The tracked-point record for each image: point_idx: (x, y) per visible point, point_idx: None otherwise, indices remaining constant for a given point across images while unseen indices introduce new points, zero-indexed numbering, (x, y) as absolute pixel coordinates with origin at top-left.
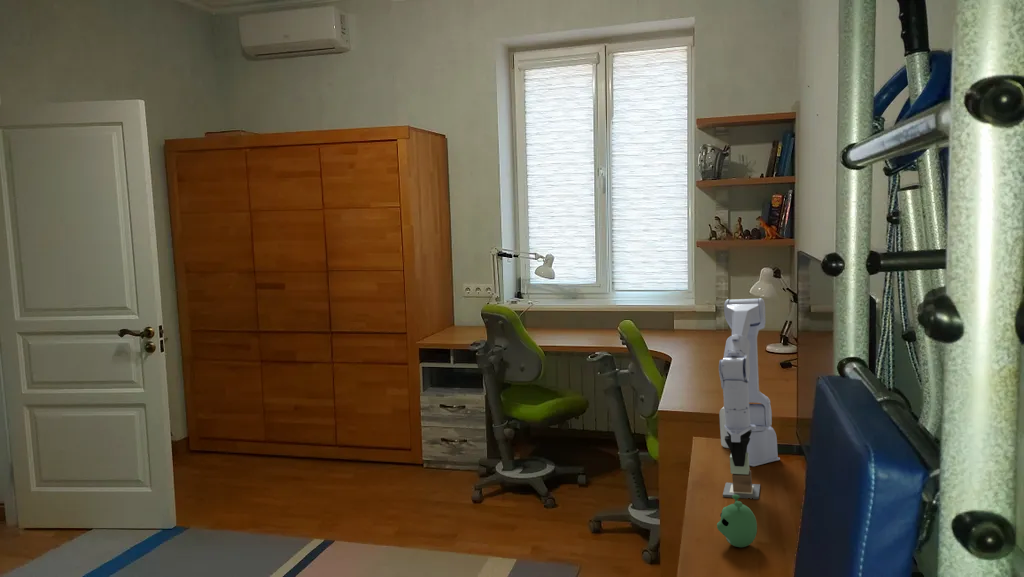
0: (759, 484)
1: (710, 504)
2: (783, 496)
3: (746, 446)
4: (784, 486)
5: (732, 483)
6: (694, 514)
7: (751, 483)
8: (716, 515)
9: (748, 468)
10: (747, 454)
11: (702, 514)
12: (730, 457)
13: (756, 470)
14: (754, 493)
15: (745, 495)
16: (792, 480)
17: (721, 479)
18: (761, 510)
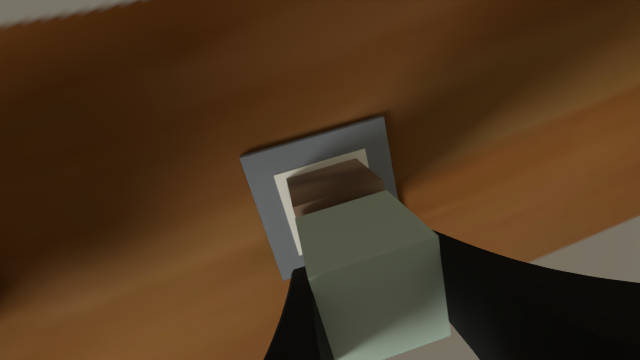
0: (241, 160)
1: (472, 242)
2: (308, 23)
3: (628, 284)
4: (176, 54)
5: (281, 257)
6: (553, 247)
7: (306, 179)
8: (550, 191)
9: (367, 208)
10: (357, 266)
11: (549, 229)
12: (448, 330)
13: (33, 243)
14: (355, 143)
15: (389, 167)
16: (61, 37)
17: (233, 310)
18: (482, 69)
